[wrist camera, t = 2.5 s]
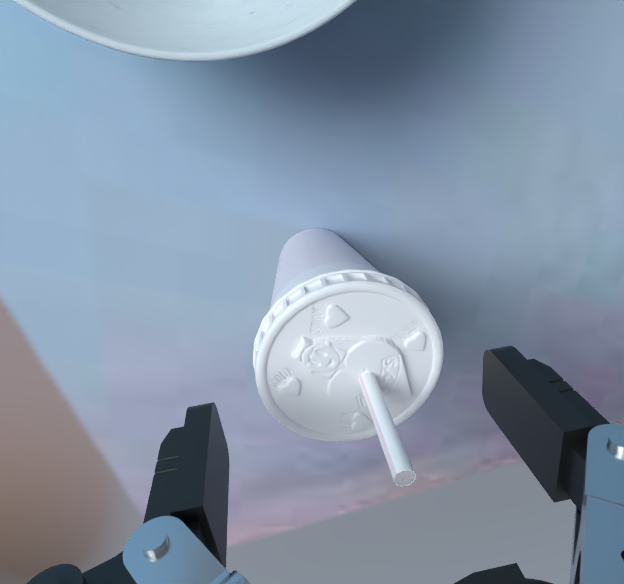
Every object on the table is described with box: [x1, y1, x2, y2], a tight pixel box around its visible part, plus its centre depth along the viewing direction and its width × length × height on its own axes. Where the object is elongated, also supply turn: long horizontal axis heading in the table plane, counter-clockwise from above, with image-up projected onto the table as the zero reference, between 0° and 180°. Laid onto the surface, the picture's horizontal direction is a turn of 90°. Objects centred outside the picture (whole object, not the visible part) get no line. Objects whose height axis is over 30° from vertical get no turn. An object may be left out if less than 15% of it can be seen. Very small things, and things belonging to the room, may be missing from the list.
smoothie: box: [253, 228, 443, 486], centre depth 18 cm, size 6×6×14 cm
